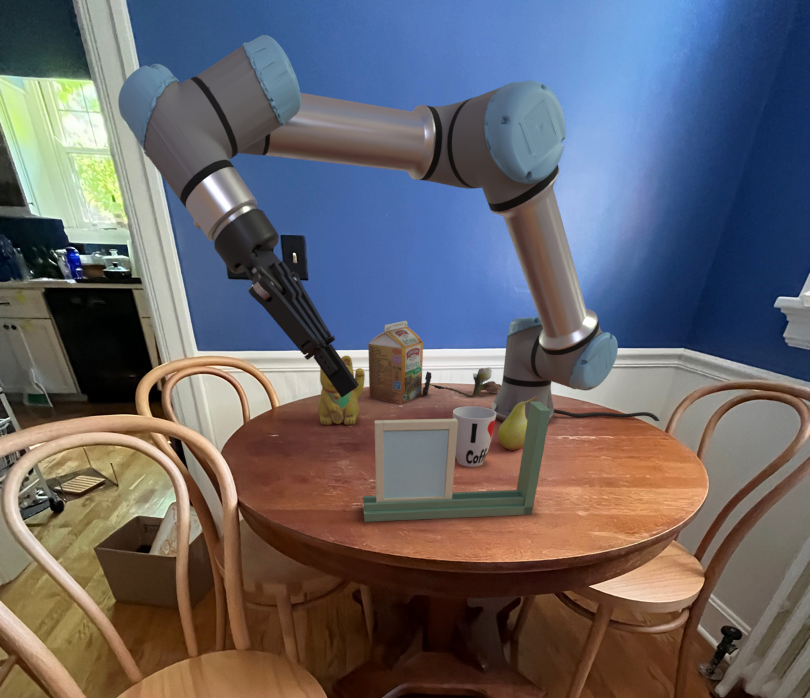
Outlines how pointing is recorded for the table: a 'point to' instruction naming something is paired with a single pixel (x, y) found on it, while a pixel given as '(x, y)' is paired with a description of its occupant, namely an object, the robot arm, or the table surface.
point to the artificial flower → (478, 378)
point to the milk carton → (395, 364)
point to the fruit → (514, 427)
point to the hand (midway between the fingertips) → (350, 391)
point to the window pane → (415, 459)
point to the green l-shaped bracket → (482, 500)
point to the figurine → (340, 399)
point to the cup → (473, 434)
